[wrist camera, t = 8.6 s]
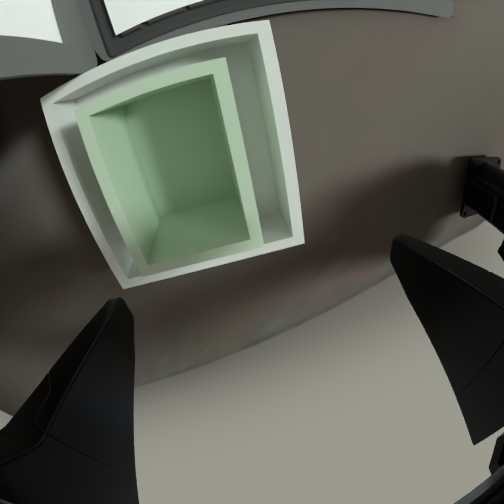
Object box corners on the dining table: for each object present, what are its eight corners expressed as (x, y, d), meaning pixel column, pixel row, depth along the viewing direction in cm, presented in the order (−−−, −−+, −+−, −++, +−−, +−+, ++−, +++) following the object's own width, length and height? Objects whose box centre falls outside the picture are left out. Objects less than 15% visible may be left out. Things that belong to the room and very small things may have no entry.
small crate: (218, 67, 13) (225, 57, 8) (246, 198, 19) (264, 246, 14) (114, 99, 13) (73, 109, 8) (156, 222, 18) (142, 277, 14)
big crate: (254, 33, 13) (269, 19, 10) (287, 214, 21) (304, 243, 17) (69, 93, 13) (39, 98, 9) (133, 255, 20) (123, 289, 17)
